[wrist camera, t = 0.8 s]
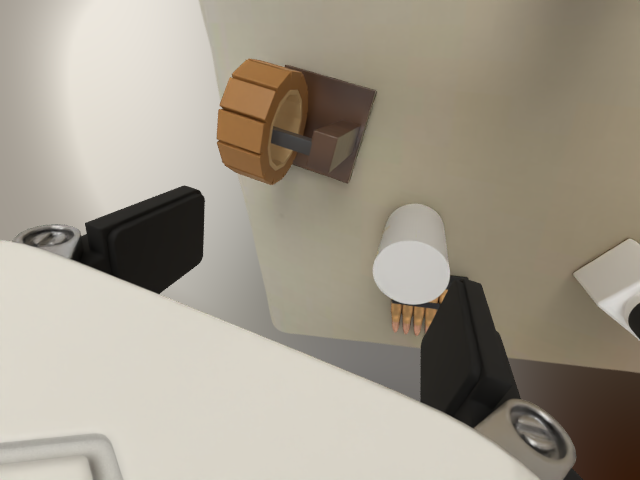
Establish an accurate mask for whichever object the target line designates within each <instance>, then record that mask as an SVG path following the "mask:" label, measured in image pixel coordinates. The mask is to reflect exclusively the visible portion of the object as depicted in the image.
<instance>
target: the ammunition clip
mask: <svg viewBox="0 0 640 480" xmlns="http://www.w3.org/2000/svg"><path fill="white" fill-rule="evenodd" d="M461 278H465V279H468V278H467V277H457V276H450V280H449V283H448V286H447V288H446V289H445V291H444V292H443V293H442V294H441V295H440V296H439V297H437V298H436V299H434V300H432V301H430V302H427V303H423V304H414V305H413V304H404V303H400V302H397V301H395V300H393V299H392V303H391V314H392V327H393V330H394V332H395V333H396V332H397V330H398V327H399V321H400V316H401V312H402V315H403V330H404V333H405V334H407V333H408V331H409V328H410V323H411V318H412V315H413V316H414V332H415V335H416V336H418V335H419V333H420V330H421V326H422V321H423V318H424V312H425V333H426V332H427V330H428V328H429V326H430V324H431V322H432V320H433V318H434V316H435V314H436V312H437V309H439V307H440V305H441V303H442V301H443V299H444V297H445V295H446V293H447V291H448V289H449V287H450V286H451V284H452V282H453V281H454V280H457V281H459V280H460V279H461ZM438 303H439V304H438ZM402 305H403V307H402ZM413 306H414V313H413ZM425 308H426V310H425Z"/></svg>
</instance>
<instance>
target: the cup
mask: <svg viewBox="0 0 640 480" xmlns="http://www.w3.org/2000/svg"><path fill="white" fill-rule="evenodd" d="M373 276H374V280H375V282H376V284H377V286H378V287H379V289H380V290H381V291H382V292H383V293H384V294H385V295H386V296H388V297H389V298H391V299H393V300H395V301H397V302H400V303H404V304H413V305H414V304H423V303H427V302H430V301H432V300H434V299H436V298H437V297H439V296H440V295H441V294H442V293H443V292H444V291H445V289H446V288H447V286H448V283H449V280H450V269H449V261H448V253H447V245H446V237H445V229H444V224H443V221H442V219H441V217H440V216H439V214H438V213H437V212H436V211H435V210H433V209H432V208H430V207H428V206H425V205H421V204H408V205H404V206H402V207H399V208H398V209H396V210H395V211H394V212H393V213H392V214H391V215H390V216H389V218H388V220H387V222H386V225H385V228H384V232H383V235H382V238H381V242H380V245H379V248H378V252H377V255H376V258H375V261H374V265H373Z"/></svg>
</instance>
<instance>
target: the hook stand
mask: <svg viewBox="0 0 640 480" xmlns="http://www.w3.org/2000/svg"><path fill="white" fill-rule="evenodd" d="M285 68H288V69H292V70H295V71H299V72H302V74H303V75H304V78H305V81H306V84H307V87H308V89H307V91H308V112H307V113H306V114H307V119H306V124H305V129H304V134H303V136H302V135H299V134H296V133H293V132H290V131H287V130H284V129H281V128H278V127H275V126H273V131H272V137H271V143H272V144H275V145H278V146H281V147H284V148H287V149H290V150H293V151H296V152H297V154H296V157H295V160H293V165H296V166H298V167H301V168H304V169H307V170H310V171H313V172H316V173H319V174H322V175H325V176H328V177H331V178H334V179H337V180H339V181H342V182H345V183H348V182H349V181H350V178H351V175H352V171H353V168H354V165H355V161H356V158H357V155H358V152H359V148H360V145H361V142H362V138H363V135H364V132H365V128H366V125H367V122H368V119H369V115H370V112H371V109H372V105H373V102H374V99H375V95H376V92H377V91H376V90H373V89H369V88H366V87H362V86H359V85H355V84H352V83H348V82H345V81H341V80H338V79H335V78H331V77H328V76H324V75H321V74H317V73H314V72H310V71H307V70H303V69H300V68H296V67H293V66H289V65H285Z"/></svg>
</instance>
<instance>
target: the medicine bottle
mask: <svg viewBox="0 0 640 480" xmlns="http://www.w3.org/2000/svg"><path fill="white" fill-rule="evenodd" d="M573 275H574V277H575V278H576V279H577V280H578V282H579V283H580V284H581V285H582V287H583V288H584V289H585V290H586V292H587V293H588V294H589V296H590V297H591V298H592V299H593V301H594V302H595V303H596V304H597V306H598V307H600V308H601V309H602V310H603V311H604V312H606V313H607V314H608V315H609V316H611V317H612V318H613V319H614V320H615V321H617V322H618V323H619V324H620V325H621V326H623V327H624V328H625V329H626V330H628V331H629V332H630V333H631V334H632V335H634V336H635V337H636V338H637V339H639V340H640V244H639V243H637V242H636V241H634V240H633V239H627V240H626V241H624V242H622V243H621V244H619V245H618V246H616V247H614V248H613V249H611V250H610V251H608V252H606V253H605V254H603V255H601V256H600V257H598V258H597V259H595V260H593V261H592V262H590V263H588V264H587V265H585V266H584V267H582V268H580V269H579V270H577V271H576V272H574V274H573Z"/></svg>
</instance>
